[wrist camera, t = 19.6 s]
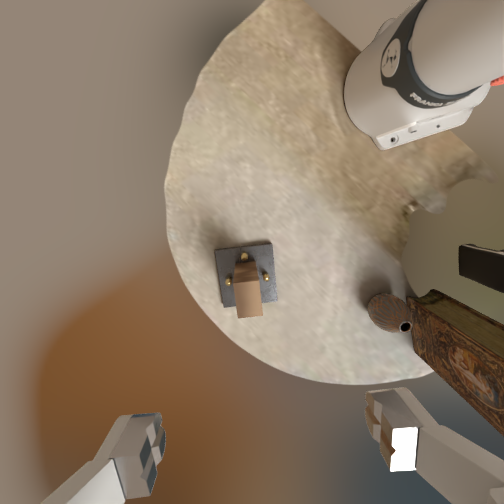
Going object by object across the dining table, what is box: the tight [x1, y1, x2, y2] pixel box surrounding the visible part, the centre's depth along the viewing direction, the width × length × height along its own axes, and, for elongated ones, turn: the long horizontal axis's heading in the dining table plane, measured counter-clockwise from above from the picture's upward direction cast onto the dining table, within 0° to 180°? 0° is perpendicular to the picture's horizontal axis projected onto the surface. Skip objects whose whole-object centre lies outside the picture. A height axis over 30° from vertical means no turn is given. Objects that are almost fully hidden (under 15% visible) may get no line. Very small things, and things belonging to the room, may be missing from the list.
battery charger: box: [459, 244, 504, 293], centre depth 43 cm, size 7×4×11 cm, turn 14°
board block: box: [233, 261, 263, 318], centre depth 42 cm, size 4×6×10 cm, turn 6°
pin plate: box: [215, 243, 277, 308], centre depth 46 cm, size 11×12×3 cm
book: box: [406, 289, 504, 436], centre depth 40 cm, size 16×6×25 cm, turn 18°
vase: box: [368, 294, 412, 333], centre depth 46 cm, size 7×7×9 cm
